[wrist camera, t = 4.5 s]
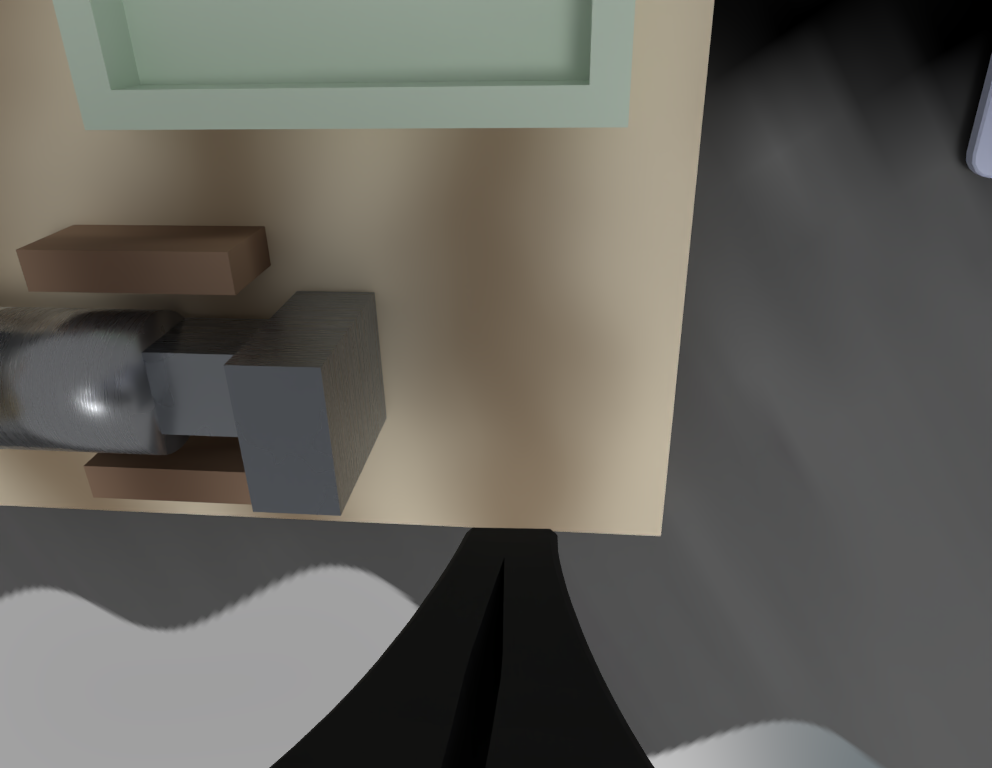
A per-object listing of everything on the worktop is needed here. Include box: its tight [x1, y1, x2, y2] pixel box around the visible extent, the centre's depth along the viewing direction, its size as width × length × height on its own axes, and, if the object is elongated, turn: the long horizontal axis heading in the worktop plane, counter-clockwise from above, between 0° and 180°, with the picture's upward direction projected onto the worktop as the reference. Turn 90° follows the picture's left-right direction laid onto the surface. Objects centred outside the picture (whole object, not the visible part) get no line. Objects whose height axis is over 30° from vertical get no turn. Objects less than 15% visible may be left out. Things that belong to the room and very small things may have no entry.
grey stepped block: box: [141, 291, 387, 516], centre depth 18 cm, size 5×4×4 cm
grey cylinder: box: [0, 307, 190, 455], centre depth 19 cm, size 7×4×4 cm, turn 91°
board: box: [0, 0, 714, 536], centre depth 18 cm, size 21×20×1 cm
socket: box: [16, 225, 271, 505], centre depth 19 cm, size 5×7×2 cm
